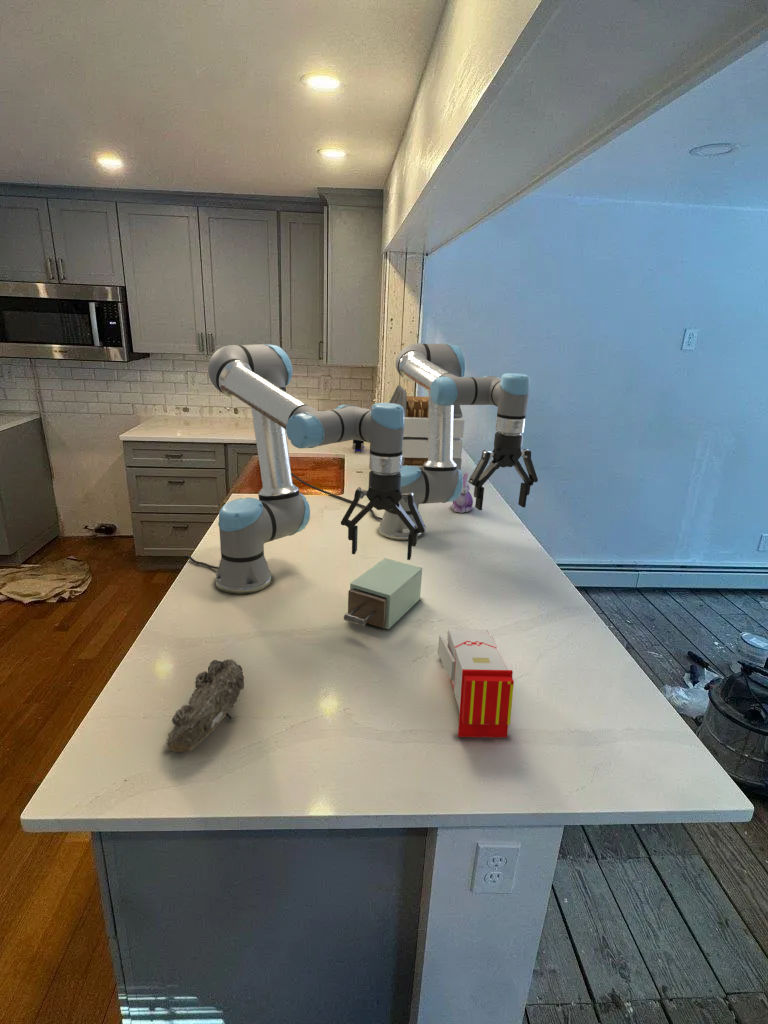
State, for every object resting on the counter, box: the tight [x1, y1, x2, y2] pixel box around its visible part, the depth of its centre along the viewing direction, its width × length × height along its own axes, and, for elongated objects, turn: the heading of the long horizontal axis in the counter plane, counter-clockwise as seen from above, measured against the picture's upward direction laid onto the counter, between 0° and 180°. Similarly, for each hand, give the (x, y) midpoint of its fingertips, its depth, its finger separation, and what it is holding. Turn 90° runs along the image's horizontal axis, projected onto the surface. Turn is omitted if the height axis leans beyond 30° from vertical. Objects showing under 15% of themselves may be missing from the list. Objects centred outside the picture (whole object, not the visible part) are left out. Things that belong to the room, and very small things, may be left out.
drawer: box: [343, 588, 387, 629], centre depth 144 cm, size 23×10×8 cm, turn 152°
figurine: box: [451, 472, 474, 514], centre depth 225 cm, size 9×10×15 cm
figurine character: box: [351, 440, 365, 454], centre depth 311 cm, size 7×8×15 cm
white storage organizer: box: [388, 384, 465, 472], centre depth 268 cm, size 34×33×41 cm
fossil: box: [166, 658, 245, 754], centre depth 106 cm, size 22×10×15 cm
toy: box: [437, 628, 515, 738], centre depth 117 cm, size 12×13×30 cm
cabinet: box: [349, 557, 423, 630], centre depth 149 cm, size 18×11×10 cm, turn 152°
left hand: (381, 555), depth 139 cm, fingers open, 13 cm apart
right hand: (500, 507), depth 160 cm, fingers open, 13 cm apart
